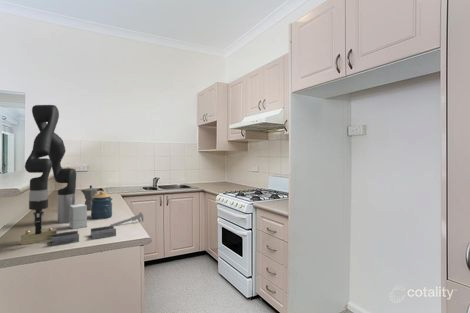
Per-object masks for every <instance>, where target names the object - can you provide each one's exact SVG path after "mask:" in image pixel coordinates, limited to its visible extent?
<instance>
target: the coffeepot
mask: <svg viewBox="0 0 470 313" xmlns="http://www.w3.org/2000/svg"><path fill="white" fill-rule="evenodd" d="M100 191H103V192H104V191H105V190H104V189H103V188H102V187H99V188H96V187H95V188H94V187H93V185H89V188H84V189H81V190H80V192H81V193H82V194H83V196H84V199H85V201H84V205H86V206H87V212H88V211H90V212H91V204H92V202H91V200H92V199H93V197H92V196H94V195H95V194H98V192H100ZM104 193H105V192H104Z"/></svg>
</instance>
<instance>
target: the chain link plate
mask: <svg viewBox="0 0 470 313" xmlns="http://www.w3.org/2000/svg"><path fill="white" fill-rule="evenodd" d="M57 231H58V230H57V228H53V227H48V229H43V230H42V229H41V234H37V235H36V234H35V230H34V231H31V230H25V232H21V233H20V246H22V245H30V244H36V243H43V242H50V241H51V242H52V234H56V233H58V232H57Z"/></svg>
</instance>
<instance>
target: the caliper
mask: <svg viewBox="0 0 470 313" xmlns="http://www.w3.org/2000/svg"><path fill="white" fill-rule="evenodd" d="M136 220H137V221H138V222H139V223H141V222H144V214H143V213H142V212H139V213H138V214H136V215H133V216H131V217H129V218H127V219H123V220H120V221H117V222H113V223H110V225H109V226H114V227H116V226H118V225H121V224H122V225H123V224H124V223H129V222H131V221H132V222H134V221H136Z"/></svg>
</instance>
